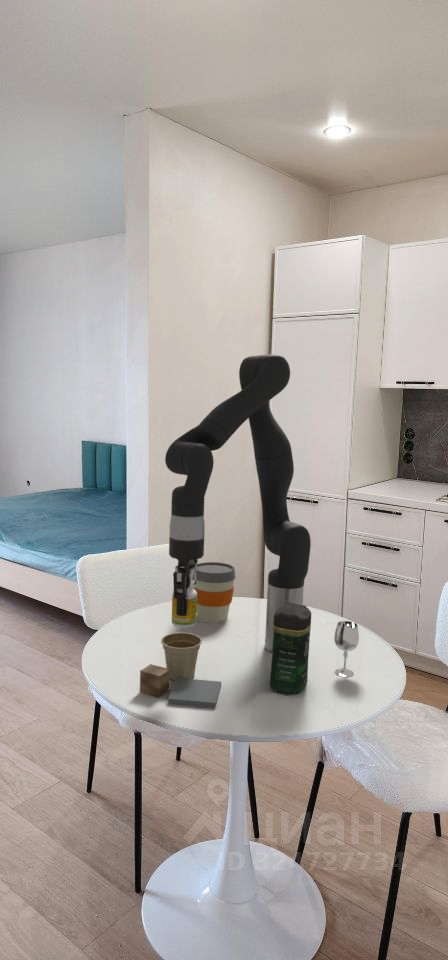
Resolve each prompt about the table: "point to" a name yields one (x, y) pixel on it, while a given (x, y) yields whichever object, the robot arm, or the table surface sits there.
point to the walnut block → (154, 680)
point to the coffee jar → (290, 649)
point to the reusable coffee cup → (214, 591)
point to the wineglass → (346, 642)
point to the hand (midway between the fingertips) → (184, 610)
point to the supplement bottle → (191, 609)
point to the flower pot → (181, 654)
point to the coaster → (195, 693)
